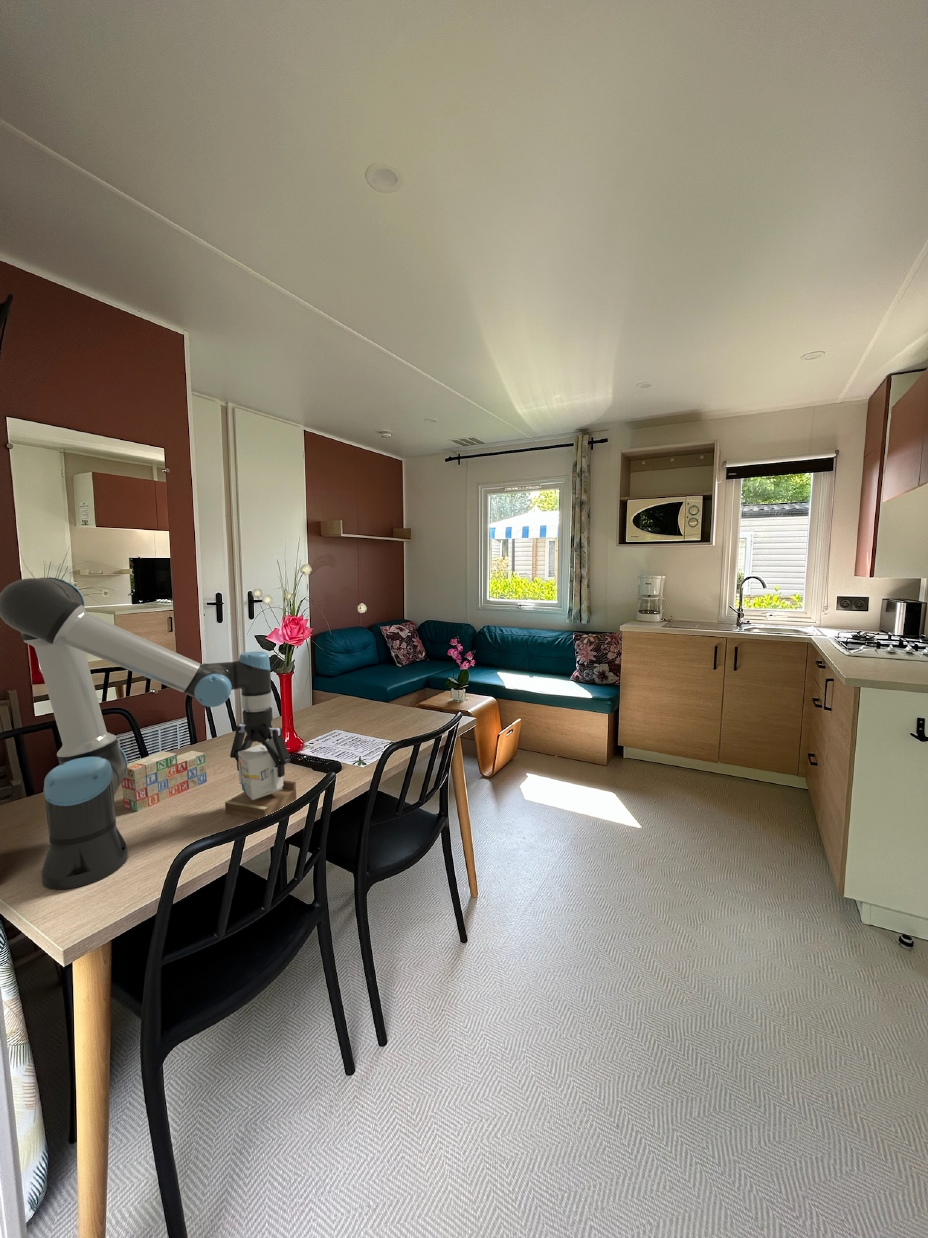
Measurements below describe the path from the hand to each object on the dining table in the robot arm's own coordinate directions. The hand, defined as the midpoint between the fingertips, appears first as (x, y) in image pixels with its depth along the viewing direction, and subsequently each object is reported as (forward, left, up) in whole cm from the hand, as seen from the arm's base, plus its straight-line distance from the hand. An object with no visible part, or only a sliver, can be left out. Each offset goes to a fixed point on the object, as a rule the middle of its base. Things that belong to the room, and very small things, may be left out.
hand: (261, 785), depth 136 cm
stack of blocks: (-2, +32, -7) cm, 33 cm away
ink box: (0, 0, -2) cm, 2 cm away
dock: (0, 0, -6) cm, 6 cm away
